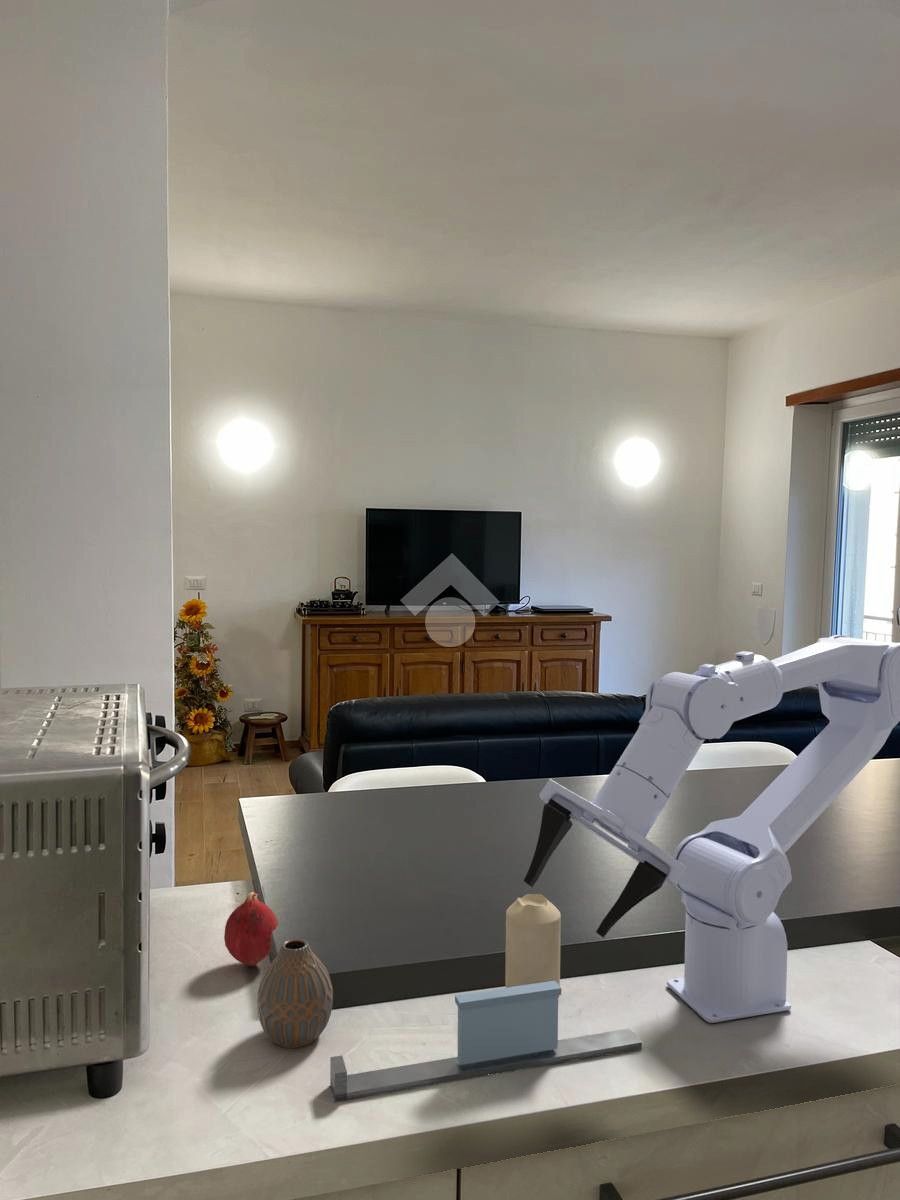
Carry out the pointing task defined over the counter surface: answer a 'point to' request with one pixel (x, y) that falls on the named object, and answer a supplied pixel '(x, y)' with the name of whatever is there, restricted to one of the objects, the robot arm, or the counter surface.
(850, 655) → the robot arm
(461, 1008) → the panel
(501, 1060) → the rail
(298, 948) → the vase
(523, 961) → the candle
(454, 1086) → the counter surface
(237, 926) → the onion
